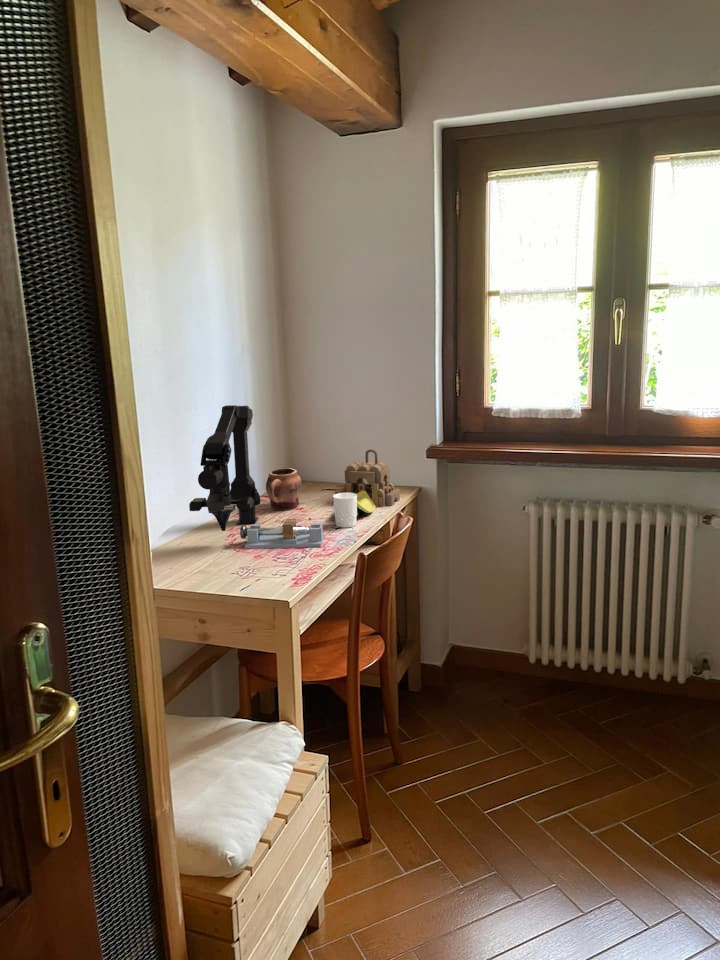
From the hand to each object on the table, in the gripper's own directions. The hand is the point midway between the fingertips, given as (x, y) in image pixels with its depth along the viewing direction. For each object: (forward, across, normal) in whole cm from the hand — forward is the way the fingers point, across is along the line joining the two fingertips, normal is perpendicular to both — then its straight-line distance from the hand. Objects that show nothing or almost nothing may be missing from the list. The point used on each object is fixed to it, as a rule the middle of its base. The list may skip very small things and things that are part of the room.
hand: (223, 530), depth 226 cm
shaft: (+3, +16, 0) cm, 16 cm away
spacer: (+3, +20, 0) cm, 21 cm away
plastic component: (+5, +38, +31) cm, 49 cm away
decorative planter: (+4, +12, +40) cm, 42 cm away
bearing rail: (+4, +19, 0) cm, 19 cm away
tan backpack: (+5, +42, +48) cm, 64 cm away
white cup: (+4, +36, +18) cm, 41 cm away
